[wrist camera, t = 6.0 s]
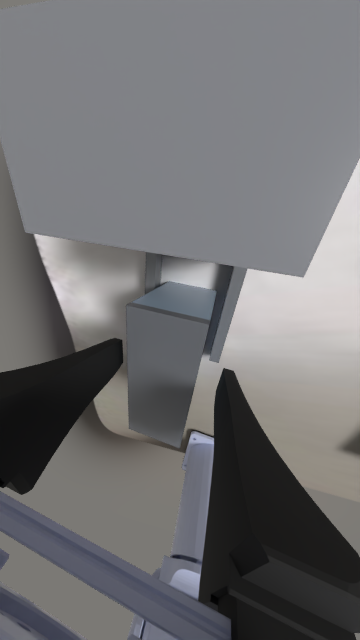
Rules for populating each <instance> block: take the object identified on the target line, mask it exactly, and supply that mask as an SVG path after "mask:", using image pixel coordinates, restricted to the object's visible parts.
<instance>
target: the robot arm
mask: <svg viewBox="0 0 360 640" xmlns="http://www.w3.org/2000/svg"><path fill="white" fill-rule="evenodd" d="M122 363H123V347H122V340H121V339H117V338H113V339H110V340H107V341H105V342H102V343H100V344H97V345H95V346H92V347H89V348H87V349H84V350H82V351H79V352H76V353H73V354H71V355H68V356H65V357H62V358H59V359H56V360H52V361H49V362H45V363H42V364H38V365H34V366H29V367H25V368H21V369H17V370H12V371H7V372H1V373H0V487H2V488H4V487H8V488H10V489H11V490H14V491H15V492H17V493H19V494H21V495H22V494H25V493H27V492H29V491H30V490H32V489H33V487H34V485H35V483H36V482H37V480H38V479H39V477H40V475H41V474H42V472H43V471H44V469H45V467H46V466H47V464H48V462H49V461H50V459H51V458H52V456H53V455H54V453H55V452H56V450H57V448H58V447H59V445H60V444H61V442H62V441H63V439H64V438H65V436H66V435H67V434H68V432H69V430H70V429H71V428H72V426H73V425H74V423H75V422H76V421H77V419H78V418H79V416H80V415H81V414H82V412H83V411H84V410H85V408H86V407H87V406H88V405H89V403H90V402H91V401H92V400H93V399H94V398H95V397H96V395H97V394H98V393H99V392H100V391H101V390H102V389H103V387H104V386H105V385H106V384H107V383H108V382H109V381H110V379H111V378H112V377H113V376H114V375H115V373H116V372H117V371H118V369H119V368H120V366H121V365H122ZM182 469H183V470H185V471H186V473H185V479H184V484H183V490H182V495H181V501H180V506H179V512H178V518H177V523H176V529H175V534H174V540H173V545H172V551H171V556H170V557H168V556H164V557H163V562H162V567H161V568H158V569H156V571H155V572H154V573H153V575H150V574H148V573H146V572H145V571H143V570H141V569H139V568H137V567H136V566H134V565H132V564H130V563H128V562H127V561H125V560H123V559H121V558H119V557H118V556H116V555H114V554H112V553H110V552H109V551H107V550H105V549H103V548H101V547H100V546H98V545H96V544H94V543H92V542H90V541H89V540H87V539H85V538H83V537H82V536H80V535H78V534H76V533H74V532H73V531H71V530H69V529H67V528H65V527H64V526H62V525H60V524H58V523H56V522H55V521H53V520H51V519H49V518H47V517H46V516H44V515H42V514H40V513H38V512H37V511H35V510H33V509H31V508H30V507H28V506H26V505H24V504H22V503H20V502H19V501H17V500H15V499H13V498H12V497H10V496H8V495H6V494H4V493H2V492H1V491H0V531H1V532H3V533H5V534H6V535H8V536H9V537H11V538H13V539H14V540H16V541H17V542H19V543H21V544H22V545H24V546H26V547H27V548H29V549H31V550H32V551H34V552H35V553H37V554H39V555H40V556H42V557H43V558H45V559H47V560H48V561H50V562H52V563H53V564H55V565H56V566H58V567H60V568H61V569H63V570H65V571H66V572H68V573H69V574H71V575H73V576H74V577H76V578H78V579H79V580H81V581H83V582H84V583H86V584H87V585H89V586H91V587H92V588H94V589H95V590H97V591H99V592H100V593H102V594H104V595H105V596H107V597H108V598H110V599H112V600H113V601H115V602H117V603H118V604H120V605H122V606H123V607H125V608H126V609H128V610H130V611H131V612H133V613H134V617H133V621H132V624H131V627H130V631H129V635H128V639H127V640H356V637H355V634H354V633H360V557H359V555H358V553H357V552H356V551H355V550H354V549H353V547H352V546H351V545H350V544H349V543H348V542H347V540H346V539H345V538H344V537H343V536H342V534H341V533H340V532H339V531H338V530H337V528H336V527H335V526H334V525H333V524H332V523H331V521H330V520H329V519H328V518H327V517H326V515H325V514H324V513H323V512H322V511H321V510H320V508H319V507H318V506H317V505H316V503H315V502H314V501H313V500H312V498H311V497H310V496H309V495H308V493H307V492H306V491H305V489H304V488H303V487H302V486H301V484H300V483H299V482H298V480H297V479H296V478H295V476H294V475H293V473H292V472H291V471H290V469H289V468H288V467H287V465H286V464H285V462H284V461H283V460H282V458H281V457H280V456H279V454H278V453H277V451H276V450H275V448H274V447H273V445H272V444H271V442H270V441H269V439H268V437H267V436H266V434H265V433H264V431H263V429H262V428H261V426H260V424H259V423H258V421H257V419H256V417H255V415H254V414H253V412H252V410H251V408H250V406H249V404H248V402H247V400H246V398H245V396H244V394H243V392H242V389H241V387H240V385H239V383H238V380H237V378H236V375H235V373H234V371H232V370H228V369H225V368H223V371H222V374H221V377H220V380H219V383H218V386H217V389H216V396H215V404H214V438H212V437H210V436H207V435H204V434H201V433H199V432H196V431H192V432H191V435H190V439H189V442H188V446H187V449H186V453H185V457H184V460H183V464H182ZM8 558H9V554H8V553H6V552H4V551H3V550H2V549H0V570H1V569H2V567H3V566H4V564H5V563H6V561H7V560H8ZM0 640H87V639H86V638H85V637H83V636H81V635H80V634H79V633H77V632H76V631H75V630H73V629H72V628H70V627H69V626H67V625H66V624H65V623H63V622H62V621H60V620H58V619H57V618H56V617H54V616H53V615H51V614H50V613H48V612H47V611H45V610H43V609H42V608H40V607H39V606H37V605H36V604H34V603H33V602H31V601H30V600H28V599H26V598H25V597H23V596H22V595H20V594H19V593H17V592H16V591H14V590H12V589H11V588H9V587H8V586H6V585H5V584H3V583H2V582H0Z"/></svg>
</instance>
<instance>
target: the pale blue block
mask: <svg viewBox="0 0 360 640" xmlns="http://www.w3.org/2000/svg"><path fill="white" fill-rule="evenodd" d="M216 293H217V291H216V290H211V289H206V288H201V287H195V286H190V285H185V284H180V283H175V282H167V283H165V284H164V285H162V286H160V287H158V288H156V289H155V290H153V291H151V292H149V293H147V294H145V295H144V296H142V297H140V298H138V299H136V300H135V301H133V302H131V303H129V304H127V305H126V327H127V369H128V412H129V429H131V430H134V431H136V432H139V433H141V434H144V435H146V436H149V437H151V438H154V439H157V440H159V441H162V442H164V443H167V444H169V445H172V446H174V447H177V448H180V445H181V441H182V436H183V432H184V428H185V424H186V420H187V416H188V412H189V407H190V403H191V399H192V395H193V391H194V387H195V382H196V378H197V374H198V370H199V366H200V362H201V357H202V353H203V349H204V345H205V341H206V337H207V333H208V328H209V324H210V320H211V315H212V311H213V306H214V302H215V297H216Z"/></svg>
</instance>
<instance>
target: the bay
mask: <svg viewBox="0 0 360 640" xmlns="http://www.w3.org/2000/svg"><path fill="white" fill-rule="evenodd" d="M0 139H1V143H2V146H3V151H4V154H5V158H6V162H7V166H8V169H9V173H10V177H11V180H12V184H13V188H14V192H15V196H16V199H17V203H18V207H19V211H20V214H21V218H22V222H23V225H24V229H25V232H26V233H32V234H39V235H45V236H51V237H57V238H63V239H69V240H76V241H82V242H88V243H94V244H100V245H106V246H113V247H119V248H125V249H131V250H137V251H143V252H146V274H145V294H147V293H149V292H151V291H153V290H155V289H156V288H158V287H160V280H161V266H162V255H168V256H174V257H180V258H187V259H193V260H199V261H205V262H211V263H217V264H224V265H230V266H233V270H232V274H231V278H230V281H229V285H228V289H227V293H226V296H225V300H224V304H223V307H222V311H221V315H220V319H219V322H218V326H217V330H216V334H215V337H214V341H213V345H212V348H211V352H210V359H209V360H210V361H213V362H217V363H219V359H220V356H221V353H222V350H223V346H224V343H225V340H226V337H227V333H228V330H229V327H230V324H231V320H232V317H233V314H234V311H235V307H236V304H237V301H238V298H239V294H240V291H241V288H242V285H243V281H244V278H245V275H246V271H247V268H248V269H255V270H261V271H267V272H273V273H279V274H285V275H292V276H298V277H304V275H305V273H306V271H307V269H308V267H309V265H310V263H311V260H312V258H313V256H314V254H315V252H316V250H317V248H318V245H319V243H320V241H321V239H322V237H323V235H324V233H325V231H326V228H327V226H328V224H329V222H330V220H331V218H332V216H333V214H334V211H335V209H336V207H337V205H338V203H339V201H340V199H341V197H342V194H343V192H344V190H345V188H346V186H347V184H348V182H349V180H350V177H351V175H352V173H353V171H354V169H355V167H356V165H357V163H358V160H359V158H360V0H50V1H44V2H38V3H32V4H27V5H21V6H15V7H9V8H4V9H0Z"/></svg>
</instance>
